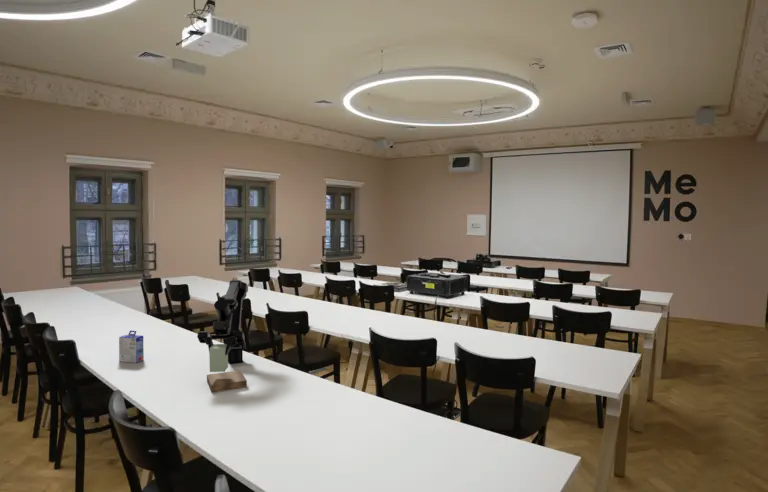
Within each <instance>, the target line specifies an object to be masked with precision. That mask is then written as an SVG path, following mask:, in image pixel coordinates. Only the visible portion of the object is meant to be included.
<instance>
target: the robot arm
mask: <svg viewBox="0 0 768 492" xmlns="http://www.w3.org/2000/svg"><path fill="white" fill-rule="evenodd" d="M248 291H249V285H248V284H247V283H246V282H243V281H242V280H240V279H231V280H229V284H228V288H227V291H226V293H225V294H224V295H222V296H221V297H219V299H217V300H216V301H215V302H214V304H213V307H214V310H215V312H216V315H217V316H218V317H217V320H215V321H213V323H212V329H213V333H214V334H212V333H209V330H207V331H205V330H204V331H199V332H198V333H197V336H196V337H197V340H198V342H199V343H200V344H206V345H207V347H208V349H209V348H210V347H211V346H212V345H213V344H214V342H213V340H224V344H227V348H226V352H225V355H227V354H228V364H230V365H231V364H232V365H233V364H238V363H239V364H241V363H244V360H243V358H244V357H243V354H244V353H243V351H244V350H246V341H245V340H246V339H245V333H244V332H243V331H244V330H241V326H242V325H241V323H242V312H243V301H244V300H245V299H246V297H247V293H248Z"/></svg>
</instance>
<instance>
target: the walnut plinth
mask: <svg viewBox="0 0 768 492" xmlns="http://www.w3.org/2000/svg"><path fill="white" fill-rule="evenodd" d="M247 381H248V380H247V378H246V377H245V375H244V373H243V372H242V371H241V369H239V370H238V369H237V370H231V371H225V372H215V373H211V374H206V383H207V385H208V388H209V390H210V393H211V394H212V393H218V392H226V391H232V390H239V389H244V388H248V386H247V385H248V382H247Z"/></svg>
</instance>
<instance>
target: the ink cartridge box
mask: <svg viewBox="0 0 768 492" xmlns="http://www.w3.org/2000/svg"><path fill="white" fill-rule="evenodd" d="M144 355H145V354H144V335H139V334H137V330H129V332H128V334H125V335H120V336H119V337H118V361H119V362H120V363H121V362H122V363H134V364H136V363H139V362H141V361H144Z"/></svg>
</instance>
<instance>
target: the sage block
mask: <svg viewBox="0 0 768 492" xmlns="http://www.w3.org/2000/svg"><path fill="white" fill-rule="evenodd" d="M226 348H227V344H225V343H213V345H212V346H211V347H210V348H208V352H209V353H208V354H209V356H208V357H209V373H224V372H226V370H227V369H228V367H229V362H228V354H227V355H225V352H226Z"/></svg>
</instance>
